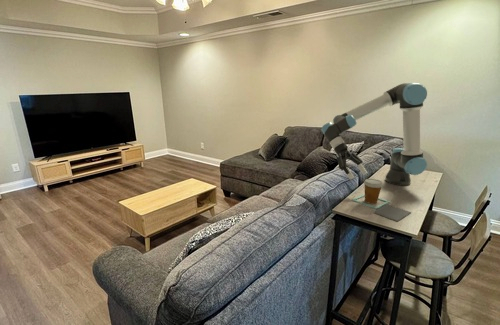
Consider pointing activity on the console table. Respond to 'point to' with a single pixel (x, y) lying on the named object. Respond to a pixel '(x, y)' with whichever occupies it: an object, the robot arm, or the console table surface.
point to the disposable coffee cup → (372, 190)
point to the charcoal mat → (392, 212)
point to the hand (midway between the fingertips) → (359, 176)
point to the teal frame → (371, 205)
